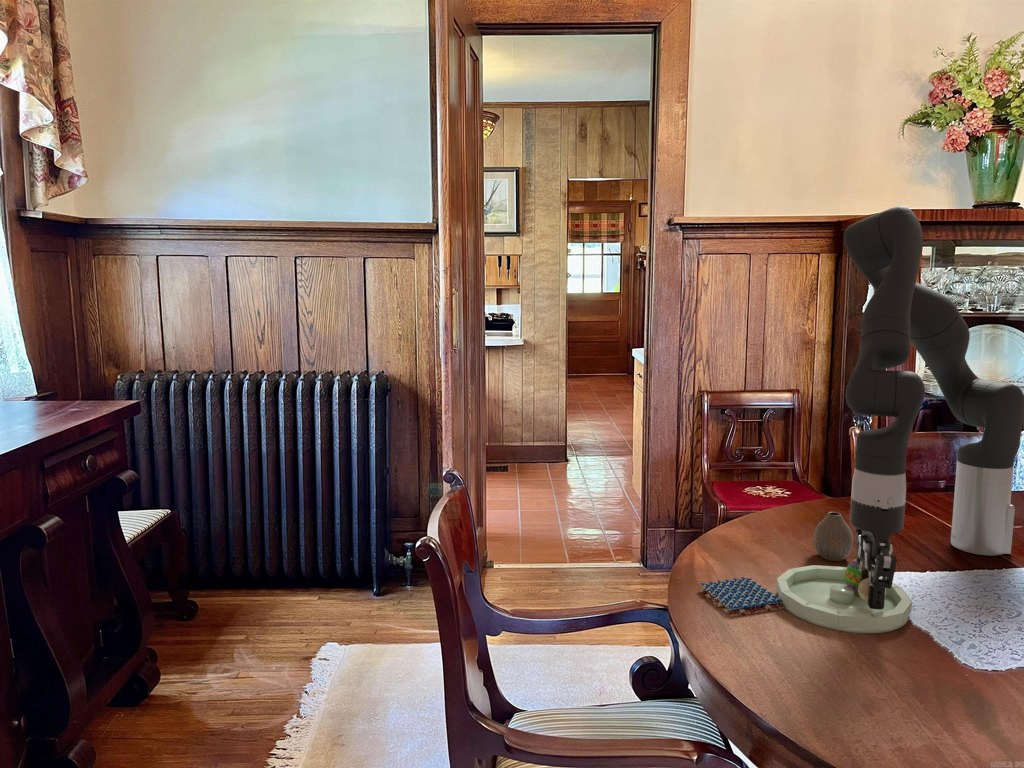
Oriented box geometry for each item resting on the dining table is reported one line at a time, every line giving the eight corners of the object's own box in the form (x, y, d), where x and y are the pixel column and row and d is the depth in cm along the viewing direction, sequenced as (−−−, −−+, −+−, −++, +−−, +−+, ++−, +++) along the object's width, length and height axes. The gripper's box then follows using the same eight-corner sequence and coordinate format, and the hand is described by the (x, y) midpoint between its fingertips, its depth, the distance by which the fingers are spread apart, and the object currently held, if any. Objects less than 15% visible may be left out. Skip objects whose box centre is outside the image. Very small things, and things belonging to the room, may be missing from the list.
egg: (838, 591, 122) (840, 557, 121) (852, 583, 125) (854, 550, 124) (867, 601, 118) (869, 566, 117) (881, 592, 121) (883, 559, 120)
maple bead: (881, 598, 116) (882, 574, 115) (888, 609, 112) (890, 585, 111) (854, 596, 117) (855, 573, 116) (861, 607, 113) (862, 583, 112)
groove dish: (887, 584, 126) (888, 569, 126) (927, 638, 107) (928, 622, 107) (770, 576, 130) (771, 562, 130) (788, 627, 111) (788, 611, 111)
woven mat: (730, 621, 115) (731, 609, 115) (697, 593, 125) (697, 582, 125) (787, 612, 118) (787, 600, 117) (749, 585, 128) (750, 574, 127)
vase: (856, 565, 134) (858, 520, 133) (816, 563, 136) (819, 518, 135) (846, 551, 141) (849, 508, 140) (809, 549, 143) (811, 507, 141)
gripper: (841, 483, 119) (836, 581, 122) (864, 510, 106) (857, 620, 108) (890, 485, 118) (884, 584, 120) (920, 513, 104) (912, 624, 107)
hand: (871, 601), depth 114 cm, fingers closed on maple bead, 4 cm apart
